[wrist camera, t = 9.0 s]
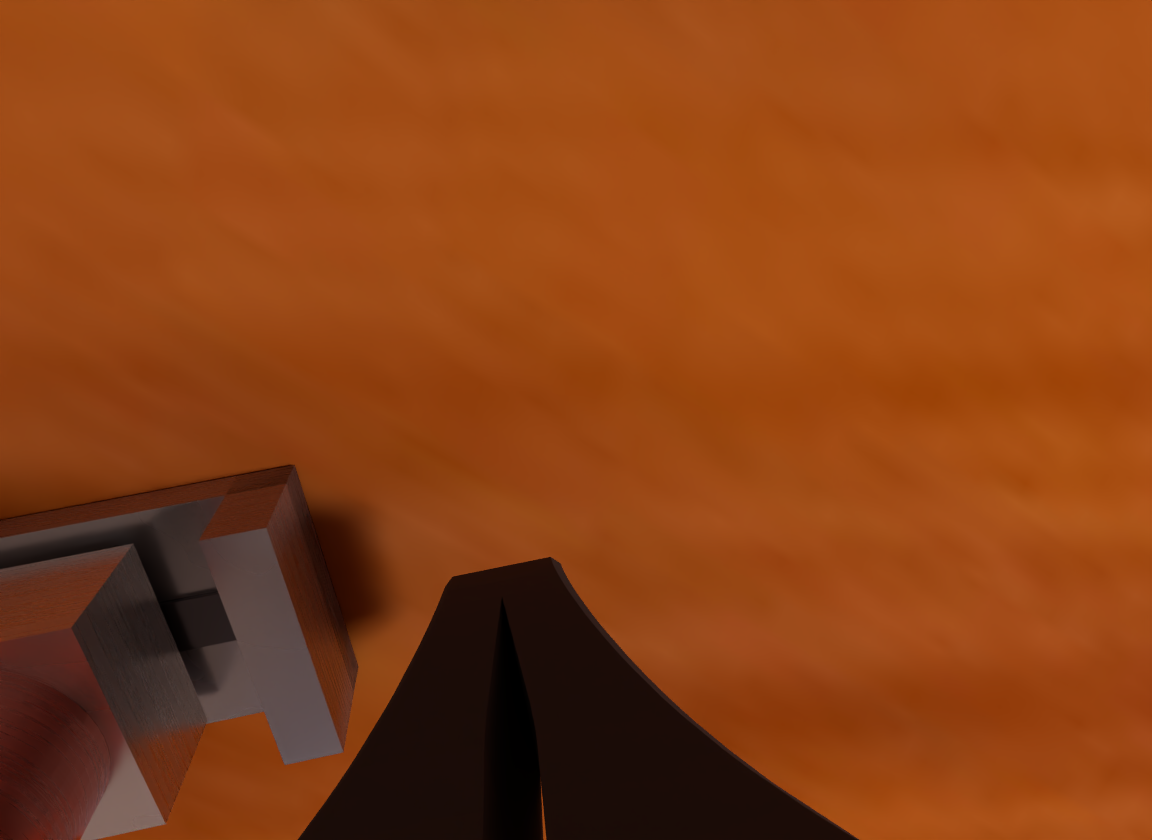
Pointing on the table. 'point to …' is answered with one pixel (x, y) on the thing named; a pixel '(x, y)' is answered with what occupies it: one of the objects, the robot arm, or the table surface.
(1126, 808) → the table surface
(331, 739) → the lever rail
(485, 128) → the table surface
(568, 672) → the robot arm
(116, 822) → the lever
